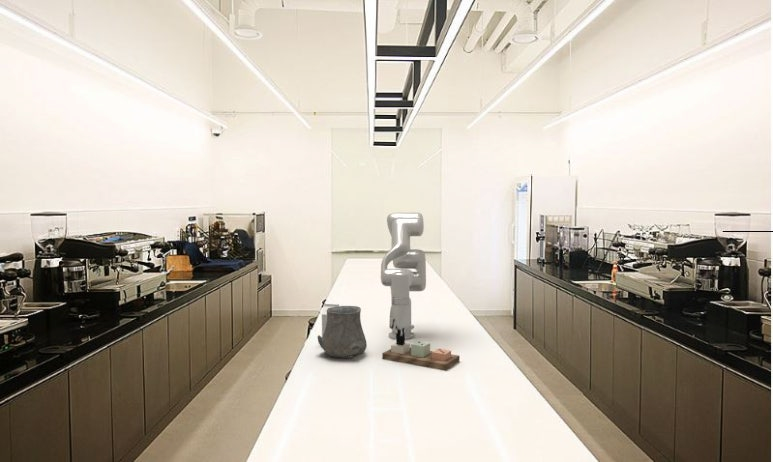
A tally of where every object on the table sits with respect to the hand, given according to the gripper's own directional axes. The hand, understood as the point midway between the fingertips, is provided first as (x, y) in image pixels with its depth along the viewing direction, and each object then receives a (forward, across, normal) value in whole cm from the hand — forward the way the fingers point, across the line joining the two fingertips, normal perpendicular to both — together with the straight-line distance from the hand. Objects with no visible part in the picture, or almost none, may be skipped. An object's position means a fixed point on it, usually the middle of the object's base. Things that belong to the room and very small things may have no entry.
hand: (400, 344), depth 213 cm
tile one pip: (+5, 0, 0) cm, 5 cm away
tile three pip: (+5, 0, +19) cm, 19 cm away
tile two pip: (+3, 0, +9) cm, 10 cm away
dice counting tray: (+5, 0, +9) cm, 11 cm away
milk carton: (+6, +1, -36) cm, 36 cm away
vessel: (+6, +10, -22) cm, 24 cm away
